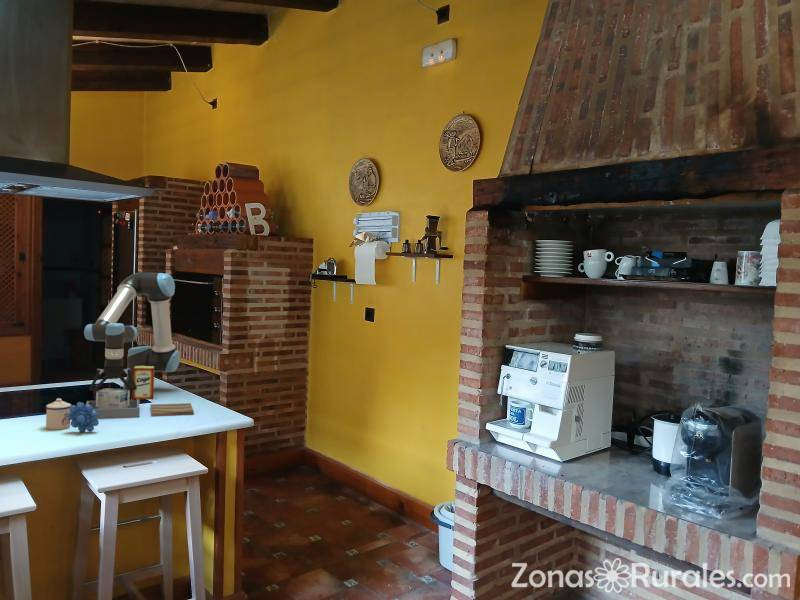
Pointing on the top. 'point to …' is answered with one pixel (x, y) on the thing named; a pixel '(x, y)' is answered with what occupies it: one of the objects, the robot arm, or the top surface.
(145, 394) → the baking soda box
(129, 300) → the robot arm
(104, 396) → the light bulb box
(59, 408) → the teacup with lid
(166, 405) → the walnut board
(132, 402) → the grey bin
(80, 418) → the grapes
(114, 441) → the top surface
